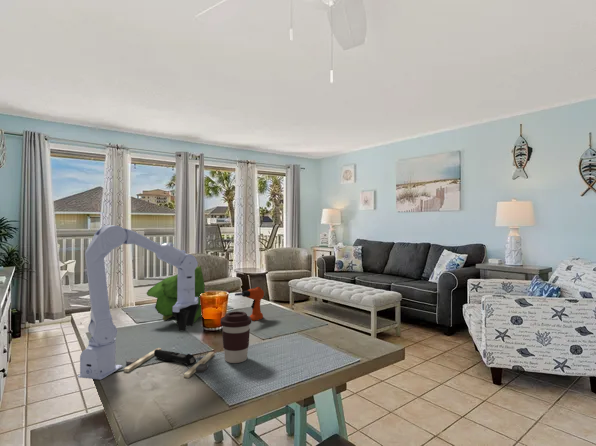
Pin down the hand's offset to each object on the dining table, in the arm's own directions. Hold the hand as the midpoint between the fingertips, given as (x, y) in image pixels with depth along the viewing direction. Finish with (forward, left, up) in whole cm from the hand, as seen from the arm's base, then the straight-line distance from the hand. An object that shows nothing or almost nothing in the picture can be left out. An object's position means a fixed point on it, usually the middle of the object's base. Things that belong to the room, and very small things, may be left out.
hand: (186, 328), depth 127 cm
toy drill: (+42, -9, -9) cm, 43 cm away
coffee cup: (-2, -19, -9) cm, 21 cm away
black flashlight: (-8, 0, -9) cm, 12 cm away
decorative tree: (+38, +24, -9) cm, 45 cm away
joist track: (-9, 0, -8) cm, 13 cm away
